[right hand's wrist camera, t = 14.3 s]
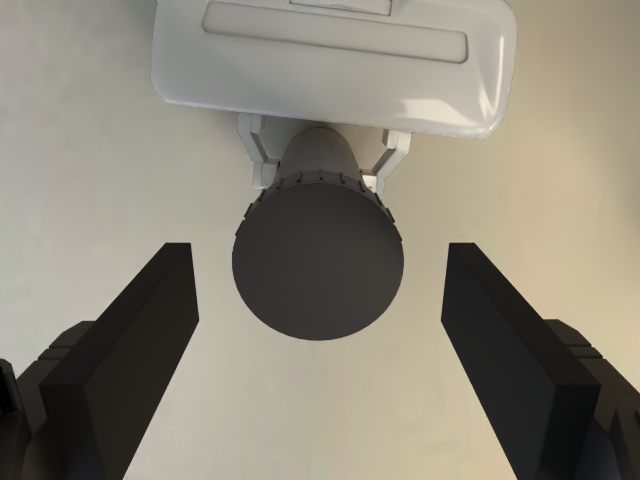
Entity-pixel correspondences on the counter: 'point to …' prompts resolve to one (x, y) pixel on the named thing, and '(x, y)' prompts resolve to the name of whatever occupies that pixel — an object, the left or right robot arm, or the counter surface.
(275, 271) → the lid
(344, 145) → the dark gray cylinder
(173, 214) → the counter surface
